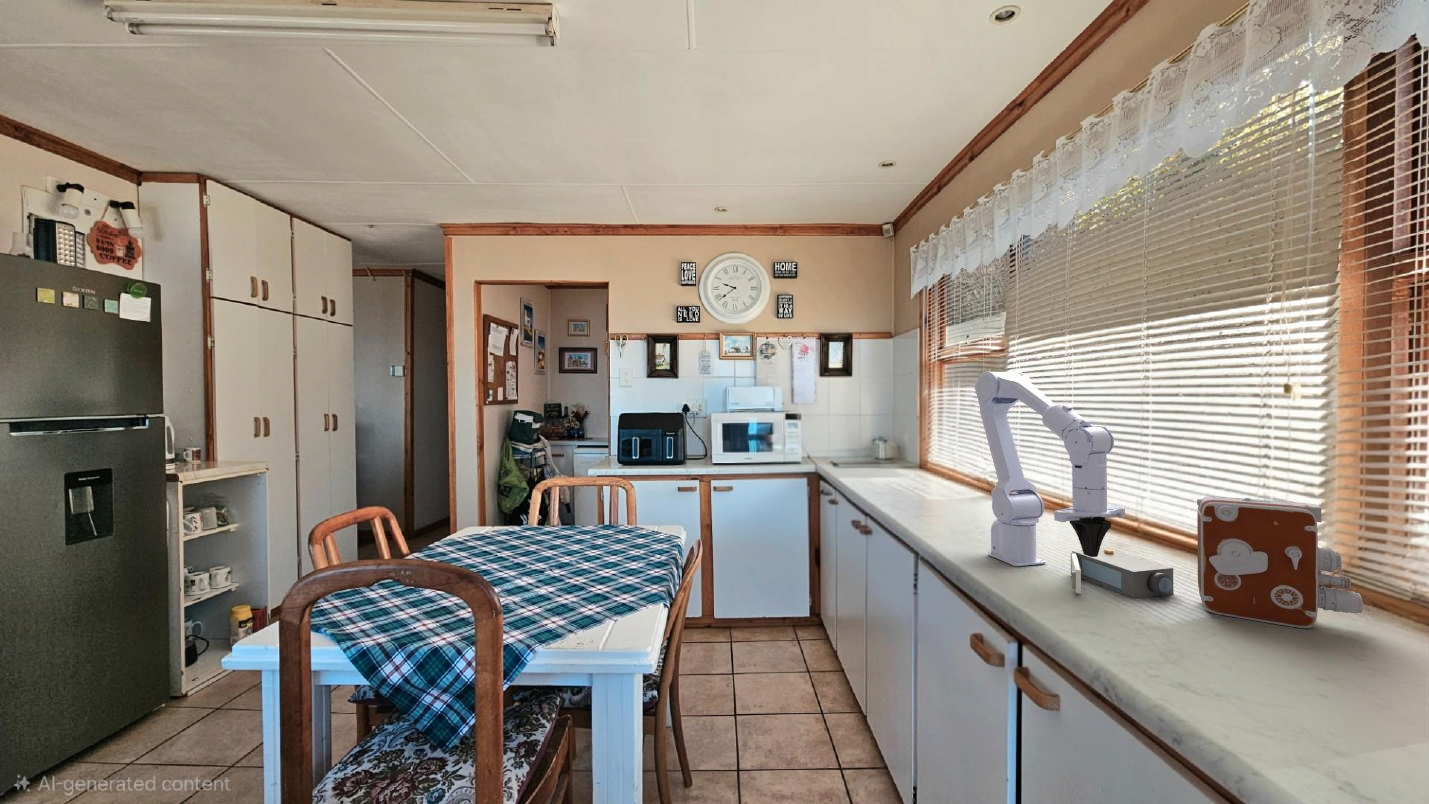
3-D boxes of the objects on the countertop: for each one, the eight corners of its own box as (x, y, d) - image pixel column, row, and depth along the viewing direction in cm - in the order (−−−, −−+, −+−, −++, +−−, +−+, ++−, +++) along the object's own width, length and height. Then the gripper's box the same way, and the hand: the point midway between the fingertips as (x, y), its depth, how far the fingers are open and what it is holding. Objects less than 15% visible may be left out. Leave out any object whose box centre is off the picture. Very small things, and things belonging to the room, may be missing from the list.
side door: (1068, 573, 117) (1067, 552, 117) (1076, 574, 117) (1075, 552, 116) (1072, 592, 106) (1072, 569, 106) (1081, 594, 106) (1080, 570, 106)
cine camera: (1371, 643, 84) (1370, 512, 84) (1201, 615, 96) (1200, 499, 95) (1351, 622, 91) (1351, 502, 91) (1196, 598, 103) (1195, 491, 103)
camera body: (1072, 574, 117) (1071, 548, 117) (1108, 571, 119) (1108, 545, 119) (1142, 602, 102) (1142, 571, 102) (1183, 597, 103) (1183, 567, 103)
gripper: (1074, 492, 104) (1075, 564, 105) (1139, 488, 107) (1140, 558, 107) (1045, 486, 111) (1046, 553, 112) (1107, 483, 114) (1108, 548, 114)
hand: (1090, 555), depth 110 cm, fingers closed
